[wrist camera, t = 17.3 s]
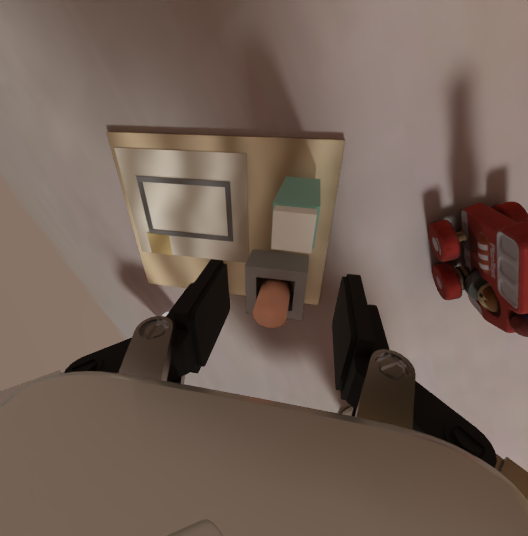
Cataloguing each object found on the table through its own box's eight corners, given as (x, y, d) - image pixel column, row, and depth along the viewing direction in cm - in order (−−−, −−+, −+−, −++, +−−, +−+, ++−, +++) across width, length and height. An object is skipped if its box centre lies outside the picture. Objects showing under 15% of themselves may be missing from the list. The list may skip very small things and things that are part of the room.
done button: (292, 277, 30) (287, 304, 26) (290, 301, 32) (285, 330, 28) (261, 273, 31) (252, 299, 26) (261, 297, 32) (252, 325, 28)
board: (344, 139, 25) (345, 140, 24) (318, 302, 35) (318, 306, 35) (110, 131, 28) (105, 132, 28) (150, 280, 39) (147, 284, 38)
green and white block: (320, 176, 26) (320, 212, 17) (315, 209, 28) (313, 256, 19) (287, 174, 27) (270, 207, 18) (284, 206, 28) (268, 251, 20)
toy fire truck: (435, 297, 32) (477, 369, 23) (422, 204, 26) (472, 252, 18) (504, 285, 29) (581, 360, 21) (506, 180, 24) (611, 222, 15)
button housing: (309, 255, 31) (307, 272, 28) (303, 300, 35) (301, 320, 31) (252, 249, 32) (244, 265, 29) (252, 293, 36) (246, 313, 32)
